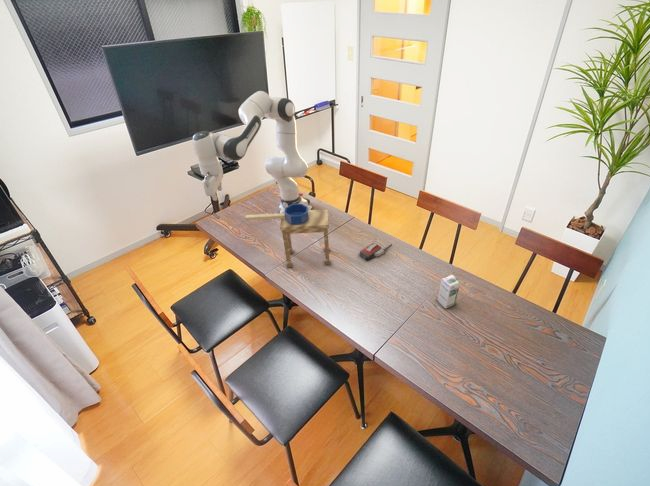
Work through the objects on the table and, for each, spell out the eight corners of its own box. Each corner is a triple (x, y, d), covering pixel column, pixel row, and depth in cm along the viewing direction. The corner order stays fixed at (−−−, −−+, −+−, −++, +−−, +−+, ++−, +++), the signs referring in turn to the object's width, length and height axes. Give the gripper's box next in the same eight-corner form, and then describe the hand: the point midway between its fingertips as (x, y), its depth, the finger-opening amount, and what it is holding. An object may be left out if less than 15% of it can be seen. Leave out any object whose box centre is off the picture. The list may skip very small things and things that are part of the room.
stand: (286, 268, 171) (279, 227, 155) (288, 251, 182) (282, 211, 166) (330, 265, 172) (328, 224, 157) (329, 248, 184) (327, 209, 168)
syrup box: (445, 309, 149) (451, 286, 140) (436, 300, 153) (441, 277, 144) (455, 304, 151) (461, 282, 142) (446, 296, 155) (451, 273, 146)
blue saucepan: (308, 211, 166) (308, 203, 163) (308, 224, 157) (307, 215, 154) (248, 214, 164) (246, 206, 161) (244, 227, 155) (242, 219, 152)
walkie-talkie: (369, 264, 173) (393, 247, 185) (369, 257, 171) (393, 241, 182) (357, 256, 178) (381, 240, 190) (357, 250, 176) (382, 234, 187)
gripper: (212, 178, 141) (219, 205, 150) (222, 159, 158) (228, 184, 166) (196, 179, 141) (205, 206, 149) (208, 159, 157) (216, 185, 165)
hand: (217, 194), depth 158 cm, fingers open, 8 cm apart
